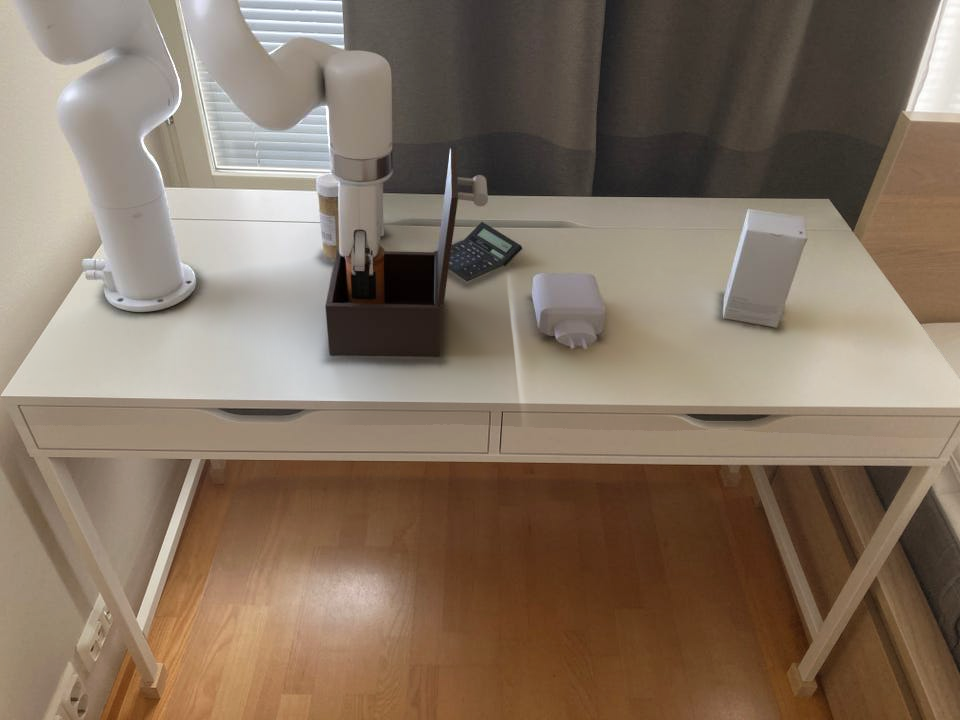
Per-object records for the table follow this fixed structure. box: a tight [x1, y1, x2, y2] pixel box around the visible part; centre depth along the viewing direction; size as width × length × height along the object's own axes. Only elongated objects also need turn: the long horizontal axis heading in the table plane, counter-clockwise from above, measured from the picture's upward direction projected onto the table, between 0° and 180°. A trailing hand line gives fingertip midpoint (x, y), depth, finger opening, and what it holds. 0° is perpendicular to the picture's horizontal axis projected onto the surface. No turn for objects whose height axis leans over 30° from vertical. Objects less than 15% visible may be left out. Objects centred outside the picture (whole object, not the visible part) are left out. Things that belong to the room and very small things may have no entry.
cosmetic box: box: [722, 208, 808, 329], centre depth 115 cm, size 8×7×16 cm
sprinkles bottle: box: [315, 172, 339, 260], centre depth 122 cm, size 5×5×14 cm
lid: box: [437, 146, 489, 307], centre depth 102 cm, size 15×14×5 cm
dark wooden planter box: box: [325, 250, 441, 358], centre depth 110 cm, size 15×14×9 cm
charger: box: [531, 272, 607, 350], centre depth 113 cm, size 5×9×15 cm
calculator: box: [434, 221, 523, 282], centre depth 127 cm, size 9×12×3 cm
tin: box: [345, 244, 386, 304], centre depth 108 cm, size 5×5×12 cm
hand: (365, 284), depth 107 cm, fingers closed on tin, 5 cm apart
